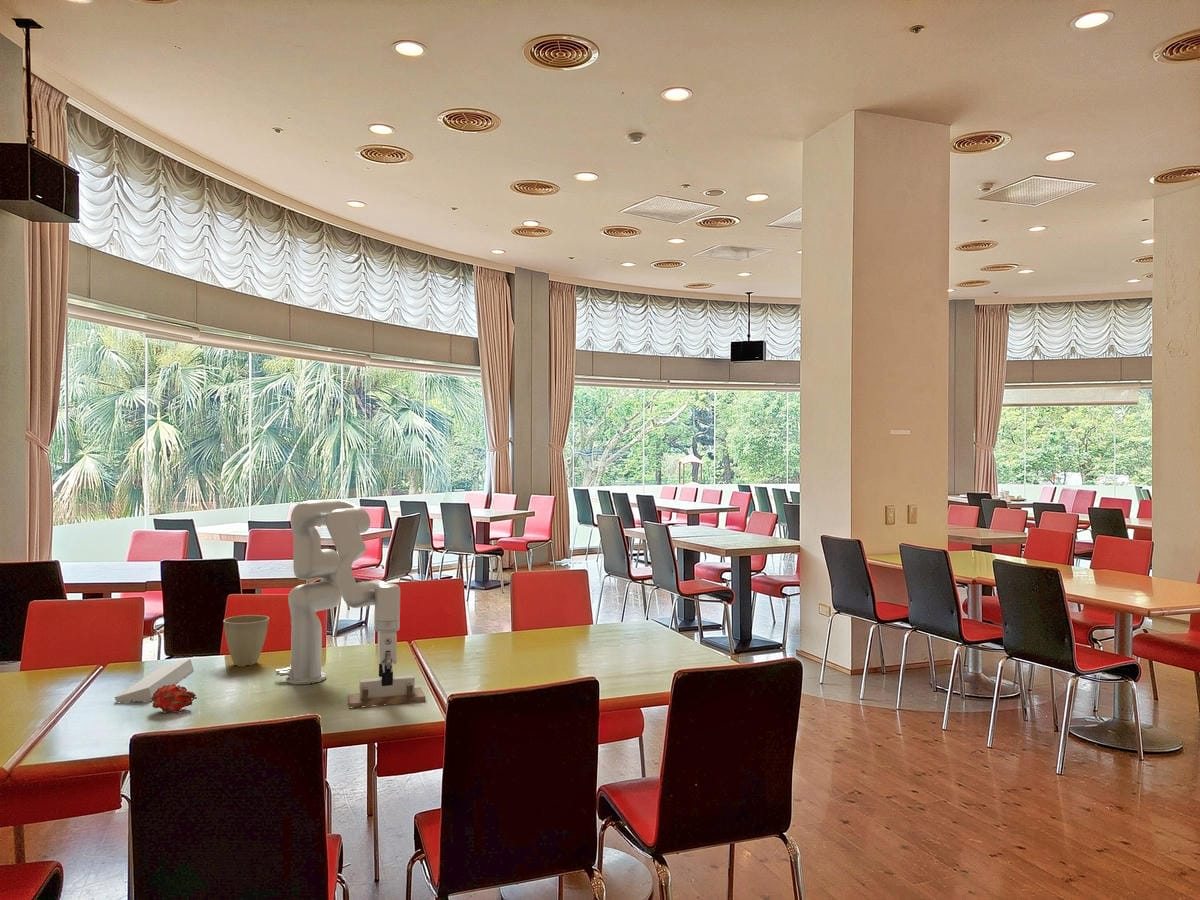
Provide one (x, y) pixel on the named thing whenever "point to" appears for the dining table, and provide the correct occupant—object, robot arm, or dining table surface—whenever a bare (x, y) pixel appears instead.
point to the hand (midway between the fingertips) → (385, 680)
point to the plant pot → (245, 637)
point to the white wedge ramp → (156, 682)
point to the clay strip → (383, 691)
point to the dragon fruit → (172, 698)
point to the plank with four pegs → (386, 698)
